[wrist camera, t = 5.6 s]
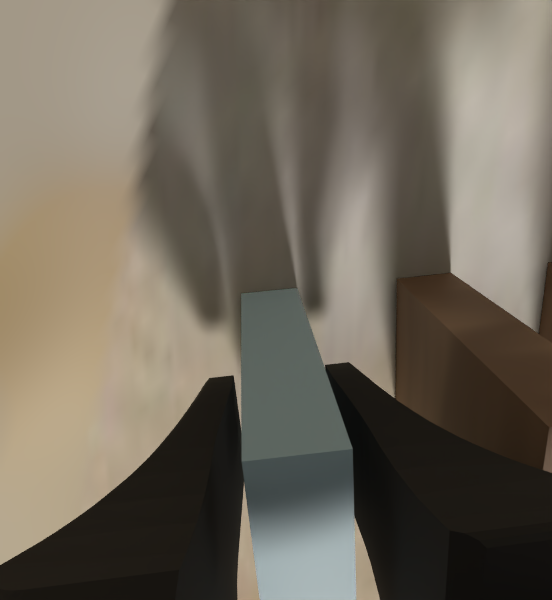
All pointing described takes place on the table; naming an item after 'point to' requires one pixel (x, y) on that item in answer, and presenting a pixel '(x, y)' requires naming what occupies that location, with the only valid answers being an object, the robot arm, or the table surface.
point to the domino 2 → (547, 307)
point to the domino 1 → (474, 368)
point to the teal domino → (294, 456)
